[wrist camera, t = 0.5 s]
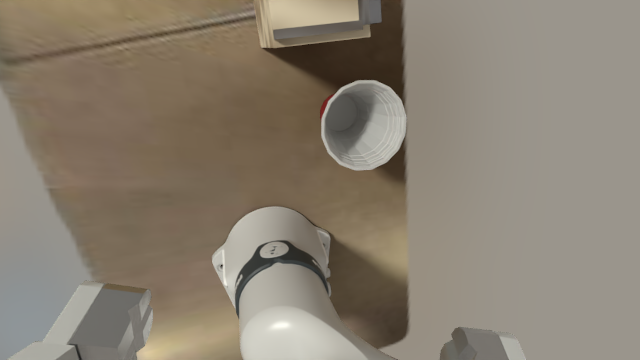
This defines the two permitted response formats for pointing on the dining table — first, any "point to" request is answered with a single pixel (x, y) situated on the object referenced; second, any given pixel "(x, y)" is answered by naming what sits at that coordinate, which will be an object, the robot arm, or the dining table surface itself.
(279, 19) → the zigzag stepped block
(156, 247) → the dining table surface
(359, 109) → the plastic cup
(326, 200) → the dining table surface
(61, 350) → the robot arm
